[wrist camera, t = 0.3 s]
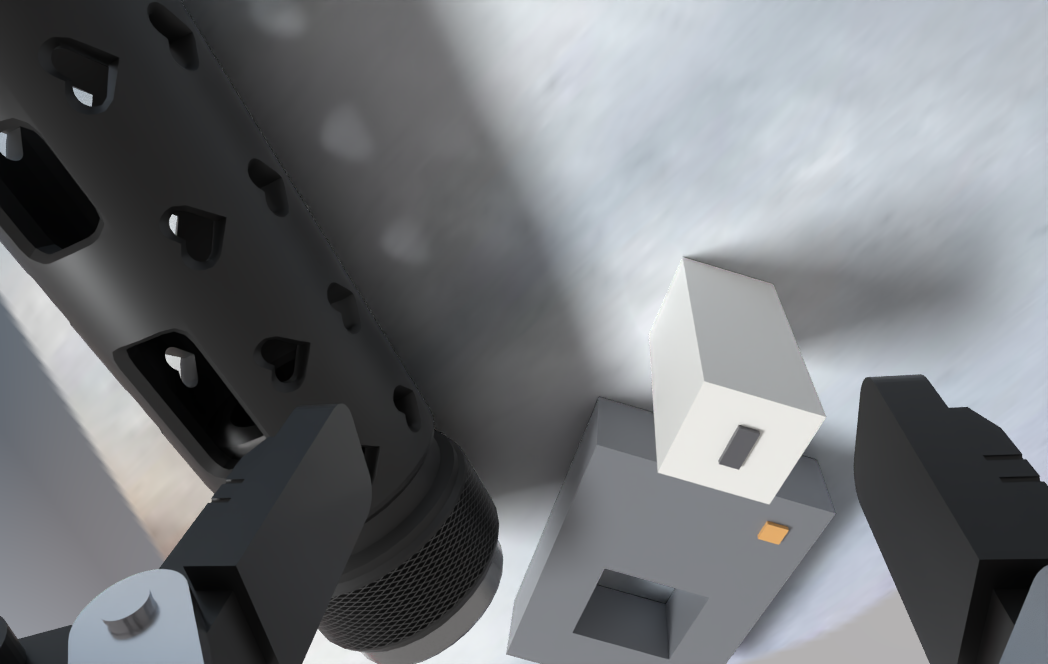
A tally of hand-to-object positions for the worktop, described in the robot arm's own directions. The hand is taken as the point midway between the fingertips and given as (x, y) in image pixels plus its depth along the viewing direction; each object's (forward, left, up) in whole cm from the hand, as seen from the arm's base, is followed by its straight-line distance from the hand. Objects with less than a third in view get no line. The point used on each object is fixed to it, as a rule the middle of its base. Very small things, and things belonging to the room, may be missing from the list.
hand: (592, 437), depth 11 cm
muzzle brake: (+11, -10, -19) cm, 24 cm away
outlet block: (+20, +9, -19) cm, 29 cm away
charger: (+6, +7, -19) cm, 21 cm away
